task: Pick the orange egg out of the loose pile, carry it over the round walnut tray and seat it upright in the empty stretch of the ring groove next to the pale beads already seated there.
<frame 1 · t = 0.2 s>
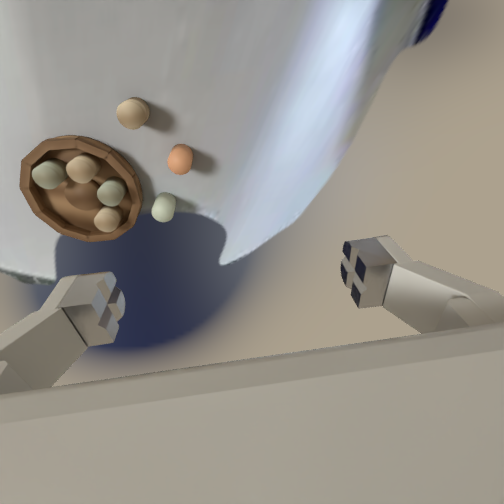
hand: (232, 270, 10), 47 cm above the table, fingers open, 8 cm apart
groove tray: (88, 189, 55), on the table
sage bead: (166, 201, 58), on the table
orange egg: (182, 154, 54), on the table
tan egg: (137, 110, 49), on the table
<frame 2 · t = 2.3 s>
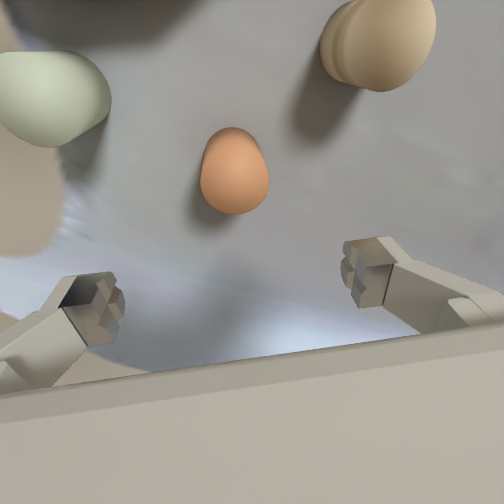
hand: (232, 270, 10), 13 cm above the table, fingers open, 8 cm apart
sage bead: (76, 90, 18), on the table
orange egg: (232, 156, 21), on the table
tan egg: (352, 43, 17), on the table
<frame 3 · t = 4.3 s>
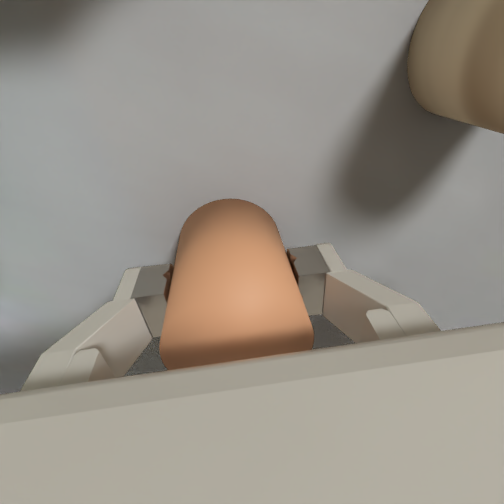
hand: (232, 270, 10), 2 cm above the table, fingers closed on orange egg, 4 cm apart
orange egg: (230, 244, 12), on the table, touching gripper
tan egg: (474, 41, 8), on the table
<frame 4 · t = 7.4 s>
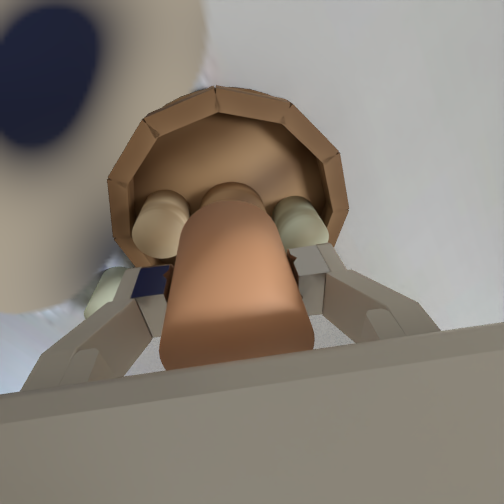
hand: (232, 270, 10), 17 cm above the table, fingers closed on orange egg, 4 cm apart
groove tray: (231, 208, 27), on the table
sage bead: (121, 281, 31), on the table
orange egg: (230, 245, 12), point 15 cm above the table, touching gripper
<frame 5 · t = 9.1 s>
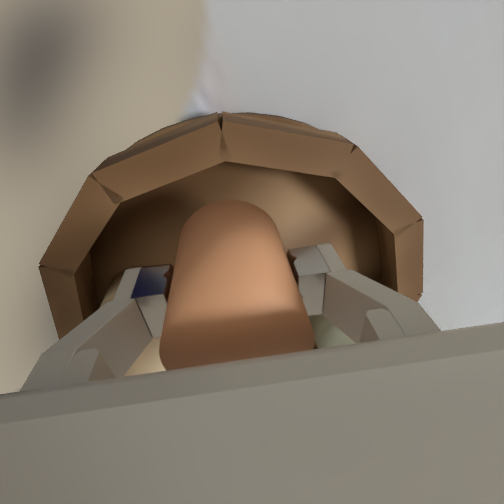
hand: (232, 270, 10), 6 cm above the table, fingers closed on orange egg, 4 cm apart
groove tray: (242, 282, 19), on the table
orange egg: (230, 245, 12), point 4 cm above the table, touching gripper
when the fingers open (4 cm above the table, at t = 10.4 s): orange egg drops 1 cm, resting on groove tray.
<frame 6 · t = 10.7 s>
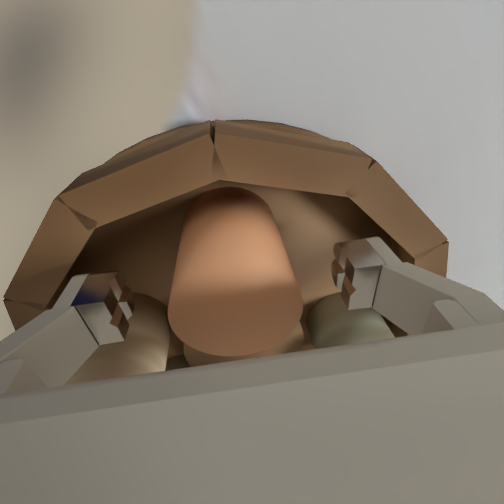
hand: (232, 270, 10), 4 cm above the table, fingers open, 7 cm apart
groove tray: (240, 305, 17), on the table
orange egg: (229, 229, 13), point 1 cm above the table, touching groove tray
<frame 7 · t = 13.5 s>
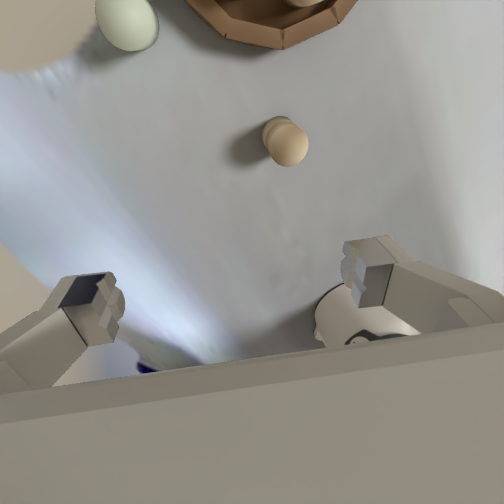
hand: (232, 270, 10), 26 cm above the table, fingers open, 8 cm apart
sage bead: (136, 22, 26), on the table
tan egg: (278, 134, 33), on the table
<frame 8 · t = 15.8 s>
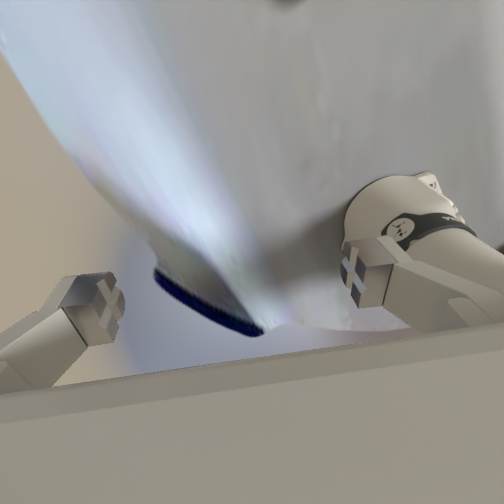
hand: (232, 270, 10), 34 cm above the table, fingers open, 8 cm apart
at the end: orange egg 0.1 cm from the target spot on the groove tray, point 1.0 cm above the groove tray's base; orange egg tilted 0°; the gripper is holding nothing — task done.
